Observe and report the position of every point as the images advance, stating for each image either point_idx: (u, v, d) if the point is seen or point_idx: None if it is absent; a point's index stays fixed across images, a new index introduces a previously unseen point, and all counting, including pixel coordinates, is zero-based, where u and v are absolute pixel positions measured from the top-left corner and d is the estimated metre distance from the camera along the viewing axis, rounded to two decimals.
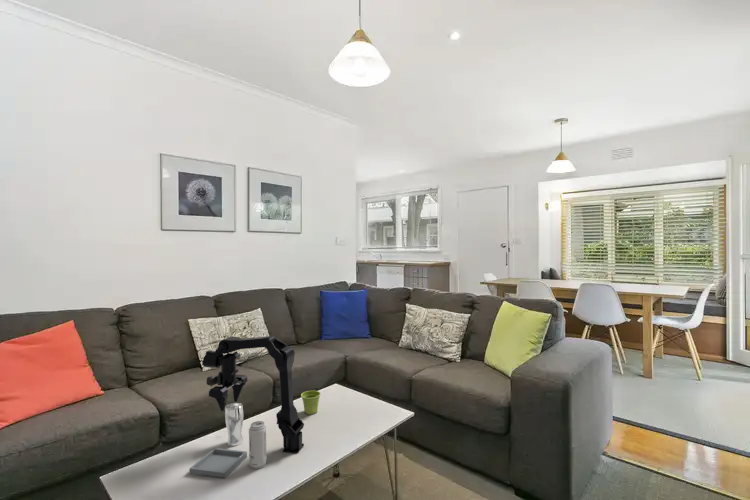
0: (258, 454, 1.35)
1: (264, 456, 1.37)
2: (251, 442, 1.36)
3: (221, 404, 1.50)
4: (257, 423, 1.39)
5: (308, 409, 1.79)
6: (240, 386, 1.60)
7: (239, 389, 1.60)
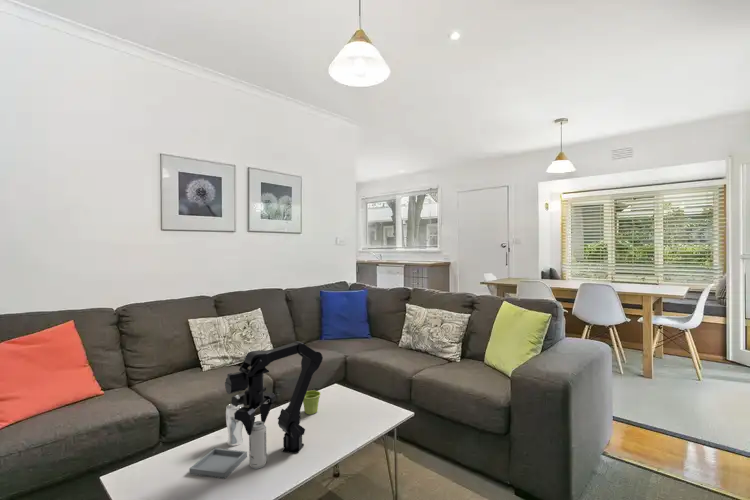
0: (258, 454, 1.35)
1: (264, 456, 1.37)
2: (251, 442, 1.36)
3: (248, 427, 1.33)
4: (257, 423, 1.39)
5: (308, 409, 1.79)
6: (268, 406, 1.43)
7: (267, 409, 1.43)
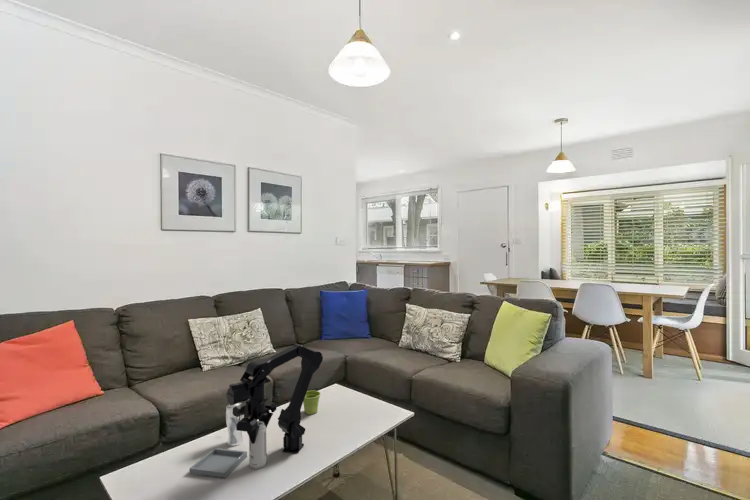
0: (258, 454, 1.35)
1: (264, 456, 1.37)
2: None
3: (252, 436, 1.34)
4: (257, 423, 1.39)
5: (308, 409, 1.79)
6: (267, 417, 1.41)
7: (266, 420, 1.41)
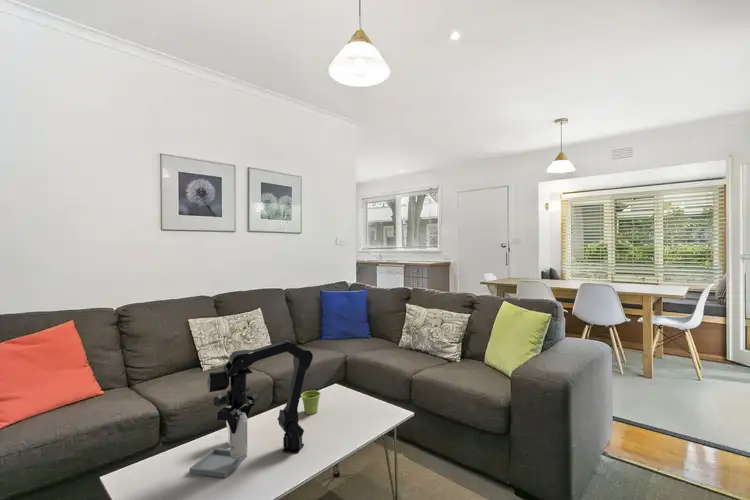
0: (239, 444, 1.35)
1: (245, 447, 1.37)
2: None
3: (232, 426, 1.34)
4: (238, 414, 1.39)
5: (308, 409, 1.79)
6: (248, 408, 1.41)
7: (247, 411, 1.41)
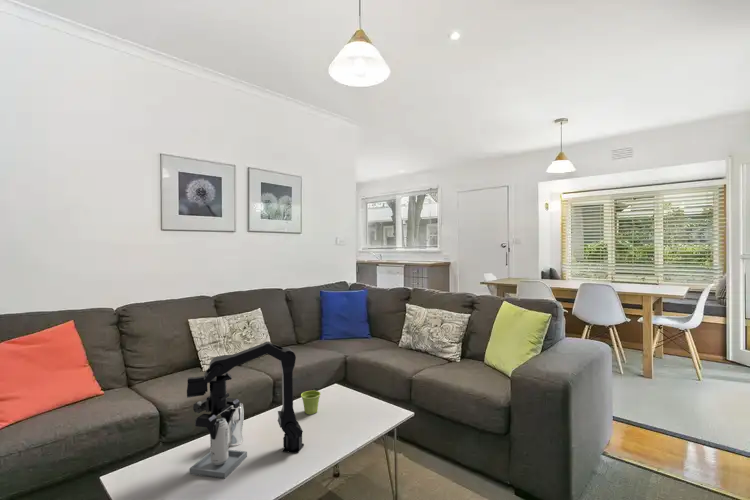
0: (219, 450, 1.36)
1: (225, 452, 1.37)
2: None
3: (212, 432, 1.34)
4: (219, 419, 1.39)
5: (308, 409, 1.79)
6: (229, 413, 1.41)
7: (228, 417, 1.41)
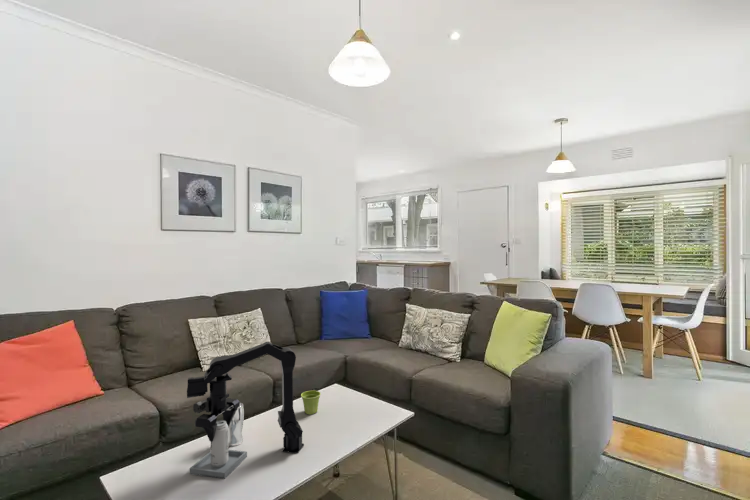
0: (219, 453, 1.36)
1: (225, 455, 1.37)
2: (212, 441, 1.36)
3: (210, 434, 1.33)
4: (219, 422, 1.39)
5: (308, 409, 1.79)
6: (231, 412, 1.43)
7: (230, 416, 1.42)
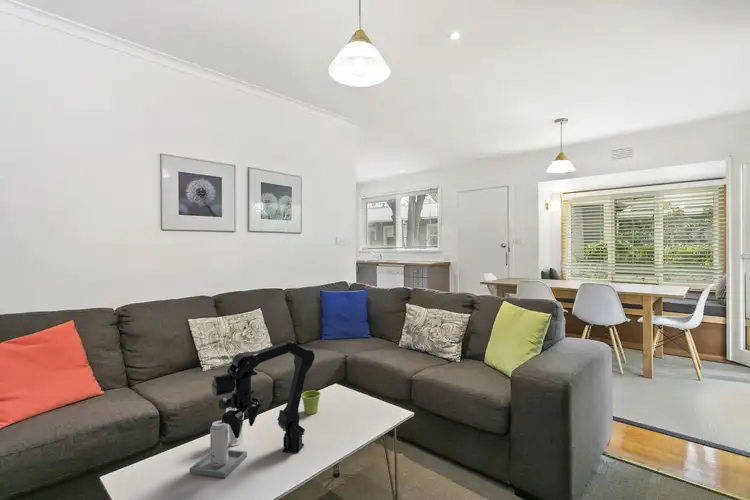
0: (219, 453, 1.36)
1: (225, 455, 1.37)
2: (212, 441, 1.36)
3: (236, 431, 1.31)
4: (219, 422, 1.39)
5: (308, 409, 1.79)
6: (256, 408, 1.41)
7: (255, 412, 1.41)
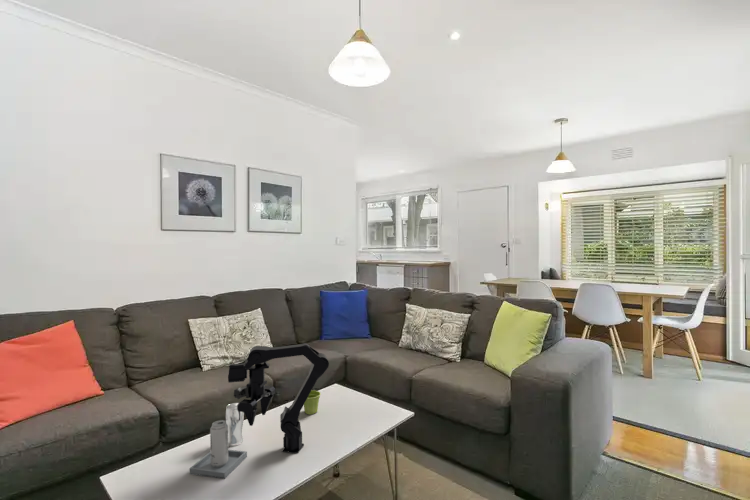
0: (219, 453, 1.36)
1: (225, 455, 1.37)
2: (212, 441, 1.36)
3: (250, 418, 1.40)
4: (219, 422, 1.39)
5: (308, 409, 1.79)
6: (268, 398, 1.50)
7: (267, 401, 1.50)
